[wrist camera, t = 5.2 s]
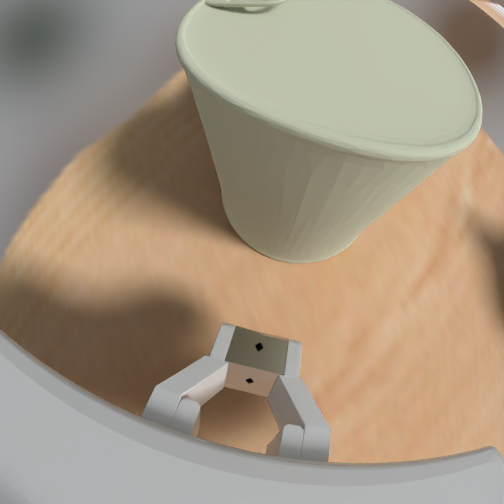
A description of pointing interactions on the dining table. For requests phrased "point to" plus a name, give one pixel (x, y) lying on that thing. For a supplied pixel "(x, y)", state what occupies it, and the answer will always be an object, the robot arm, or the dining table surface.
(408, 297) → the dining table surface
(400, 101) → the can
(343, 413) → the dining table surface
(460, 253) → the dining table surface
